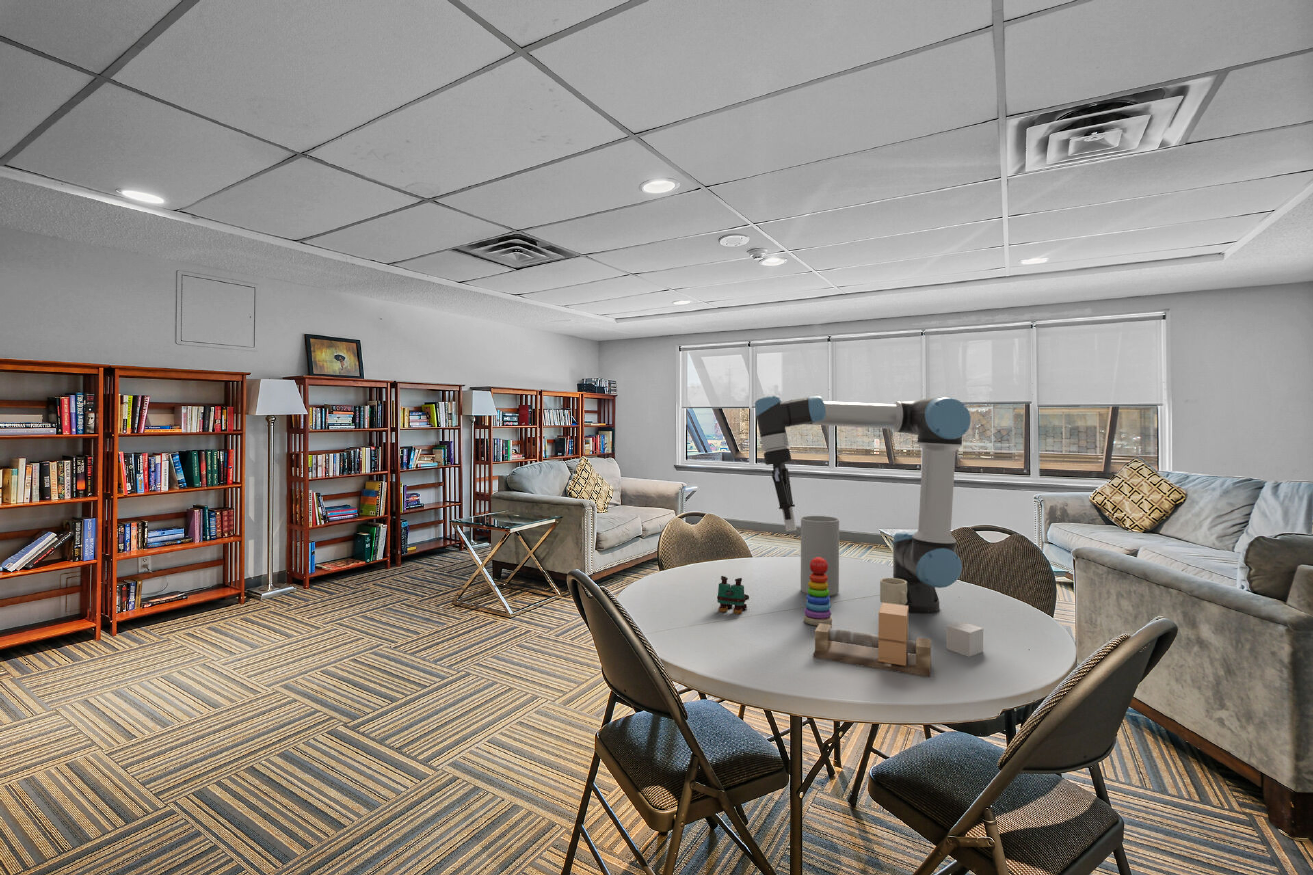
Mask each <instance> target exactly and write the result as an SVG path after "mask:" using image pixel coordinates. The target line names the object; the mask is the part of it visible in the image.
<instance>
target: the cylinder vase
mask: <svg viewBox="0 0 1313 875" xmlns="http://www.w3.org/2000/svg"><path fill="white" fill-rule="evenodd" d="M816 557H820V558H823V559H825V560H826V562H827V564H828V569H827V571H826V573H825V575H827V577H828V579H827V581H826V582H827V583H828V588H827V589H828V590H829V595H828V596H829V597H833V596H834V597H835V596H836V595H837V594H838V593H839V591H840V518H838V517H835V516H825V515H806V516H805V515H804V516H802V517H800V591H801V592H802V593H803V594H805V595H808V594H809V593H808V588H809V586H808V583H809V581H811V580H810V575H811V574H812V573H813V572H812V571H811V569H810V562H811V560H812V559H814V558H816Z"/></svg>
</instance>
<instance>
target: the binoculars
mask: <svg viewBox="0 0 1313 875" xmlns="http://www.w3.org/2000/svg"><path fill="white" fill-rule="evenodd" d="M742 579H743V578H742V577H739V578H735V579H734V582H735V584H734V583H733V584H731V583H728V577H727V576H726V575H725V576H724V575H721V576H720V580H721V582H719V583H718V589H717V596H716V599H717V603H718V604H719V605H718V611H719V612H720V613H725V612H728V608H729V609H731V608H732V609H733V612H732V613H734V614H738V615H741V614H743V610H744V609H747V608H748V605H747V604H746V603H745V602H746V601H748V600H750V595H748V594H746V593H745V585H744V584H742V582H743V580H742ZM733 606H734V608H733Z"/></svg>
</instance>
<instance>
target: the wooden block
mask: <svg viewBox="0 0 1313 875" xmlns="http://www.w3.org/2000/svg"><path fill="white" fill-rule="evenodd" d="M878 635H879V638H878V648H877V649H878V661H880V662H886V663H892V664H898V665H904V666H906V662H907V656H908V654H909V653H907V640H909V612H908V606H906V605H898V604H890V603H881V605H880V606H879V610H878Z"/></svg>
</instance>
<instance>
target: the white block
mask: <svg viewBox="0 0 1313 875" xmlns="http://www.w3.org/2000/svg"><path fill="white" fill-rule="evenodd" d="M946 650H949V651H952V652H955V653H958V654H961V655H964V656H967V657H972V656H976V655H978V654H980V653H982V652H984V627H980V626H977V625H974V624H970V623H967V622H963V621H958V622H955V623H951V624H949V625H946Z"/></svg>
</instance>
